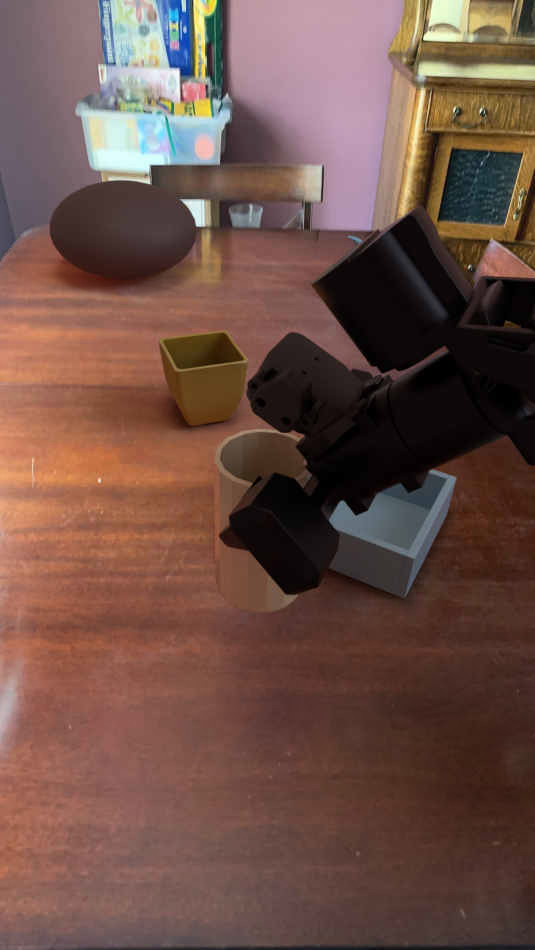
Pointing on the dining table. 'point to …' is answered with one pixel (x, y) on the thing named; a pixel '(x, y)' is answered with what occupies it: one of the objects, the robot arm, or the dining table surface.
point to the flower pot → (204, 375)
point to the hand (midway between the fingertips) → (245, 510)
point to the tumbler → (232, 478)
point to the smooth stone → (123, 229)
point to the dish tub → (392, 534)
